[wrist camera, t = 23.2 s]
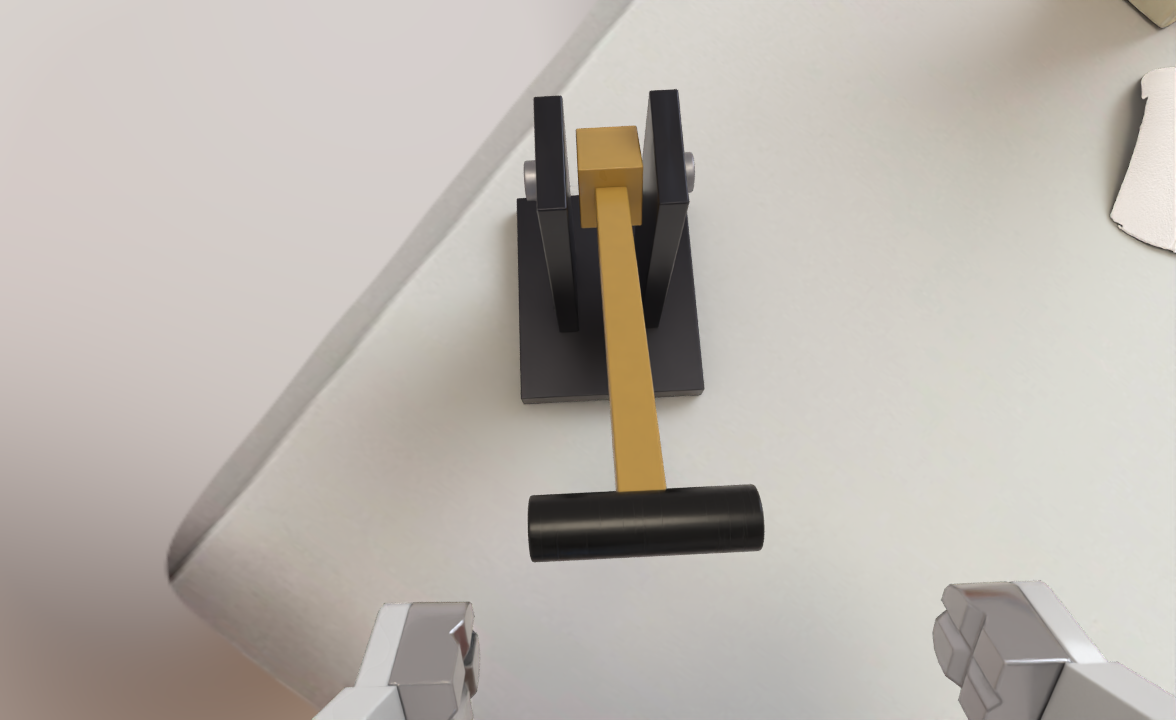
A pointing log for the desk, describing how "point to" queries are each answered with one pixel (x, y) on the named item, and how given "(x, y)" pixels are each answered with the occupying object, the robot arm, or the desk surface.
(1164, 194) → the computer mouse
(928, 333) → the desk surface
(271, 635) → the desk surface
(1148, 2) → the tall wooden block
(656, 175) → the bolt bracket
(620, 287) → the bolt lever
